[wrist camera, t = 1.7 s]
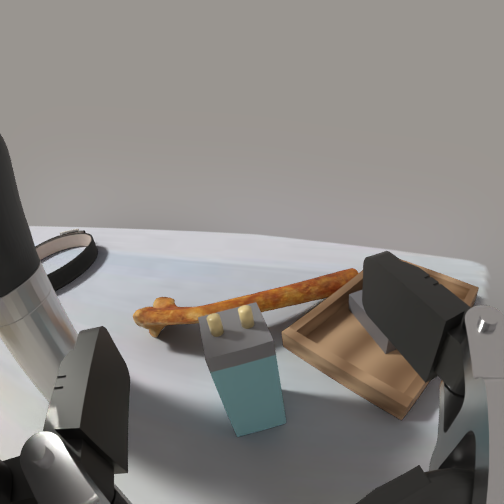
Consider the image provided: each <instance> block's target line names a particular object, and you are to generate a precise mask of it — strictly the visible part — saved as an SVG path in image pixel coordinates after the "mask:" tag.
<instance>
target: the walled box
mask: <svg viewBox="0 0 504 504" xmlns="http://www.w3.org/2000/svg"><path fill="white" fill-rule="evenodd" d="M400 260H401V259H400ZM401 261H403V262H407V261H404V260H401ZM407 263H410V262H407ZM410 264H412V263H410ZM412 265H415V264H412ZM415 266H417V267H419V268H421V269H422V270H423V271H425V272H426V273H427V274H429V275H430V277H433V278H434V279H435V280H437V281H438V282H439V284H442V285H443V286H444V287H446V288H447V289H448V290H450V291H451V292H452V293H453V294H455V295H456V296H457V297H458V298H460V299H461V300H462V301H463V302H465V303H466V304H467V305H468V306H470V307H471V308H472V307H473V304H474V302H475V299H476V296H477V292H478V289H479V288H478V287H476V286H473V285H470V284H468V283H465V282H462V281H460V280H457V279H454V278H452V277H449V276H446V275H443V274H441V273H438V272H435V271H432V270H429V269H427V268H424V267H421V266H418V265H415ZM362 288H363V270H362V271H361V272H360V273H359V274H358V275H356V276H355V277H354V278H353V279H351V280H350V281H349V282H348V283H346V284H345V285H344V286H342V287H341V288H340V289H339V290H337V291H336V292H335V293H333V294H332V295H331V296H330V297H328V298H327V299H326V300H324V301H323V302H322V303H320V304H319V305H318V306H316V307H315V308H314V309H312V310H311V311H310V312H308V313H307V314H306V315H304V316H303V317H302V318H300V319H299V320H297V321H296V322H295V323H293V324H292V325H291V326H289V327H288V328H286V329H285V330H284V331H282V340H283V347H285V348H286V349H288V350H289V351H291V352H292V353H294V354H295V355H297V356H298V357H300V358H301V359H303V360H304V361H306V362H307V363H309V364H310V365H312V366H313V367H315V368H317V369H318V370H320V371H321V372H323V373H324V374H326V375H327V376H329V377H331V378H332V379H334V380H335V381H337V382H338V383H340V384H342V385H343V386H345V387H346V388H348V389H350V390H351V391H353V392H355V393H356V394H358V395H359V396H361V397H363V398H364V399H366V400H368V401H369V402H371V403H373V404H374V405H376V406H378V407H379V408H381V409H383V410H384V411H386V412H388V413H390V414H391V415H393V416H395V417H396V418H398V419H400V420H402V419H403V418H404V417H405V415H406V414H407V413H408V411H409V410H410V409H411V407H412V406H413V405H414V403H415V402H416V400H417V399H418V398H419V396H420V395H421V393H422V392H423V391H424V389H425V388H426V386H427V385H428V383H429V382H430V381H428V382H426V383H425V382H424V381H423V379H422V378H421V377H420V376H419V375H418V373H417V372H416V371H415V370H414V369H413V368H412V366H411V365H410V364H409V363H408V362H407V360H406V359H405V358H404V357H403V356H402V355H401V353H400V352H399V351H398V350H397V349H396V350H394V351H392V352H389V353H387V354H385V353H384V352H383V350H382V349H381V348H380V347H379V345H378V344H377V343H376V342H375V341H374V339H373V338H372V337H371V336H370V334H369V333H368V332H367V331H366V330H365V328H364V327H363V326H362V325H361V323H360V322H359V321H358V320H357V319H356V317H355V316H354V315H353V314H352V313H351V311H350V310H349V294H351V293H354V292H357V291H360V290H362Z"/></svg>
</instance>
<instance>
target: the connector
mask: <svg viewBox="0 0 504 504" xmlns="http://www.w3.org/2000/svg"><path fill="white" fill-rule="evenodd" d="M198 320H199V326H200V332H201V338H202V344H203V350H204V356H205V360H206V363H207V365H208V368H209V370H210V373H211V376H212V378H213V381H214V383H215V386H216V388H217V391H218V393H219V395H220V398H221V400H222V403H223V405H224V408H225V410H226V412H227V415H228V417H229V419H230V422H231V424H232V426H233V428H234V431H235V433H236V435H237V437H239V436H243V435H247V434H251V433H255V432H258V431H262V430H265V429H269V428H272V427H276V426H279V425H282V424H285V423H286V417H285V411H284V404H283V397H282V391H281V384H280V378H279V372H278V365H277V359H276V352H275V346H274V340H273V338H272V336H271V334H270V331H269V329H268V327H267V325H266V323H265V320H264V318H263V316H262V314H261V312H260V309H259V307H258V305H257V303H256V302H255V303H251V304H247V305H243V306H240V307H236V308H232V309H228V310H224V311H221V312H217V313H213V314H209V315H205V316H201V317H198Z"/></svg>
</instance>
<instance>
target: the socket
mask: <svg viewBox="0 0 504 504" xmlns="http://www.w3.org/2000/svg"><path fill="white" fill-rule="evenodd" d="M349 310H350V311H351V313H352V314H353V315H354V316H355V317H356V319H357V320H358V321H359V322H360V323H361V325H362V326H363V327H364V328H365V330H366V331H367V332H368V333H369V334H370V336H371V337H372V338H373V339H374V341H375V342H376V343H377V344H378V345H379V347H380V348H381V349H382V350H383V352H384V353H385V354H387V353H389V352H392V351H394V350H396V348H395V346H394V345H393V344H392V343H391V342H390V341H389V340H388V338H387V337H386V336H385V335H384V334H383V333H382V332H381V330H380V329H379V328H378V327H377V326H376V325H375V324H374V322H373V321H372V320H371V319H370V318H369V317H368V316H367V314H366V312H365V310H364V307H363V303H362V290H360V291H357V292H354V293H351V294H349Z"/></svg>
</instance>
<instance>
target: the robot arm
mask: <svg viewBox="0 0 504 504" xmlns="http://www.w3.org/2000/svg"><path fill="white" fill-rule="evenodd" d="M362 303H363V307H364V310H365V312H366V314H367V316H368V317H369V318H370V319H371V320H372V321H373V322H374V324H375V325H376V326H377V327H378V328H379V329H380V330H381V332H382V333H383V334H384V335H385V336H386V337H387V338H388V340H389V341H390V342H391V343H392V344H393V345H394V346H395V348H396V349H397V350H398V351H399V352H400V353H401V355H402V356H403V357H404V358H405V359H406V360H407V362H408V363H409V364H410V365H411V366H412V368H413V369H414V370H415V371H416V372H417V373H418V375H419V376H420V377H421V378H422V379H423V381H424V382H425V383H426V382H428V381H430V380H432V379H433V378H435V377H437V376H439V377H440V378H441V379H442V381H441V383H440V396H439V424H438V438H437V443H436V446H435V449H434V451H433V454H432V457H431V461H430V466H429V471H428V472H423V470H422V468H421V467H420V465H418V466H417V467H415V468H413V469H412V470H410V471H408V472H406V473H405V474H403V475H401V476H399V477H397V478H395V479H394V480H392V481H390V482H388V483H386V484H384V485H382V486H380V487H378V488H376V489H375V490H373V491H372V492H371V493H369V494H368V495H367V496H366V497H364V498H363V499H362V500H360V501H359V502H358V503H356V504H504V314H503V313H502V312H501V311H500V310H498V309H496V308H494V307H491V306H487V305H478V306H474V307H472V308H471V307H470V306H468V305H467V304H466V303H465V302H463V301H462V300H461V299H460V298H458V297H457V296H456V295H455V294H453V293H452V292H451V291H450V290H448V289H447V288H446V287H444V286H443V285H442V284H439V282H438V281H437V280H435V279H434V278H433V277H430V275H429V274H427V273H426V272H425V271H423V270H422V269H421V268H419V267H417V266H415V265H412V264H410V263H407V262H403V261H401V260H400V259H399V258H397V257H396V256H395V255H393V254H392V253H390V252H388V251H385V252H382V253H379V254H376V255H372V256H369V257H366V258H365V260H364V263H363V288H362ZM0 337H1V339H2V341H3V342H4V344H5V345H6V347H7V348H8V350H9V351H10V352H11V354H12V355H13V357H14V358H15V360H16V361H17V362H18V364H19V365H20V367H21V368H22V369H23V371H24V372H25V373H26V375H27V376H28V377H29V378H30V380H31V381H32V382H33V384H34V385H35V386H36V387H37V389H38V390H39V391H40V392H41V393H42V395H43V396H44V397H45V398H46V399H47V401H48V402H49V407H48V411H47V415H46V420H45V424H44V429H43V432H40V433H37V434H35V435H33V436H32V437H30V438H29V439H28V440H27V441H26V443H25V444H24V446H23V448H22V450H21V454H20V456H18V457H15V458H11V459H8V460H5V461H1V460H0V504H132V503H131V502H130V501H129V500H128V498H127V497H126V496H125V495H124V494H123V493H122V492H121V490H120V489H119V488H118V487H117V486H116V485H115V484H114V474H120V473H128V412H129V391H130V376H129V371H128V368H127V365H126V363H125V361H124V359H123V358H122V356H121V354H120V352H119V351H118V349H117V347H116V345H115V344H114V342H113V340H112V338H111V336H110V334H109V332H108V331H107V329H106V328H105V327H103V326H101V327H97V328H92V329H87V330H83V331H80V332H79V334H77V332H76V330H75V329H74V327H73V325H72V323H71V321H70V320H69V318H68V316H67V314H66V312H65V310H64V309H63V307H62V305H61V303H60V301H59V299H58V297H57V295H56V293H55V291H54V289H53V287H52V285H51V283H50V281H49V279H48V277H47V274H46V272H45V270H44V268H43V265H42V263H41V261H40V258H39V256H38V254H37V251H36V248H35V246H34V242H33V239H32V236H31V232H30V229H29V226H28V223H27V220H26V218H25V215H24V212H23V208H22V205H21V201H20V198H19V194H18V190H17V185H16V182H15V176H14V172H13V168H12V164H11V160H10V156H9V152H8V149H7V146H6V144H5V142H4V139H3V137H2V136H1V134H0Z"/></svg>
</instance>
